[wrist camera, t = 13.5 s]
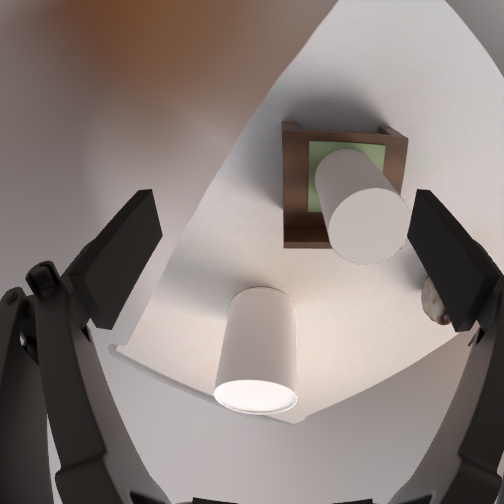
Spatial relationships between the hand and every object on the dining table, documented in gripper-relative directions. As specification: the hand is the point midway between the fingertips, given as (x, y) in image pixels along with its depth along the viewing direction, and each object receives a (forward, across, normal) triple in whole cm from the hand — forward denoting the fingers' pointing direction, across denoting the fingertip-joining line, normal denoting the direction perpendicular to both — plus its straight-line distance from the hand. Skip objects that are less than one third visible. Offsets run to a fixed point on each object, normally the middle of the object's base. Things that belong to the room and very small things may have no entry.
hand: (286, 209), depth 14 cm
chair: (+29, +8, -8) cm, 31 cm away
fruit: (+29, +32, -30) cm, 53 cm away
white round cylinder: (+22, +8, -7) cm, 25 cm away
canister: (+29, -4, -38) cm, 48 cm away
